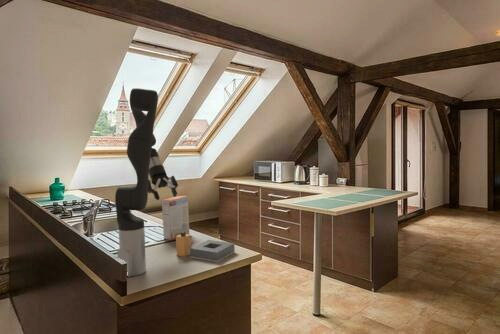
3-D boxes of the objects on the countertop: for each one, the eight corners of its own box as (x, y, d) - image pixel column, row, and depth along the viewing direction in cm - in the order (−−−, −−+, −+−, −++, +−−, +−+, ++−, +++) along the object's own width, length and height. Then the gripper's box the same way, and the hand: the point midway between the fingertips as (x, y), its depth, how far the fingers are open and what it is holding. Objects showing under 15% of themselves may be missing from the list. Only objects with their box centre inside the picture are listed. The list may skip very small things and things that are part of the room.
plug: (184, 256, 147) (183, 233, 146) (176, 255, 149) (175, 232, 148) (190, 253, 151) (190, 231, 150) (183, 252, 153) (182, 230, 152)
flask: (185, 240, 171) (185, 221, 170) (195, 243, 166) (194, 223, 166) (174, 244, 165) (173, 224, 165) (183, 246, 161) (183, 226, 160)
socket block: (217, 262, 139) (216, 252, 139) (189, 257, 146) (189, 248, 145) (234, 252, 151) (234, 243, 151) (208, 248, 158) (208, 239, 158)
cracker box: (181, 233, 186) (180, 195, 185) (189, 234, 183) (188, 196, 182) (162, 239, 174) (161, 199, 173) (171, 240, 171) (169, 199, 170)
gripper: (143, 166, 155) (154, 196, 149) (171, 162, 164) (183, 191, 158) (139, 174, 160) (150, 204, 155) (166, 170, 169) (178, 198, 163)
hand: (167, 197), depth 156 cm, fingers open, 8 cm apart
